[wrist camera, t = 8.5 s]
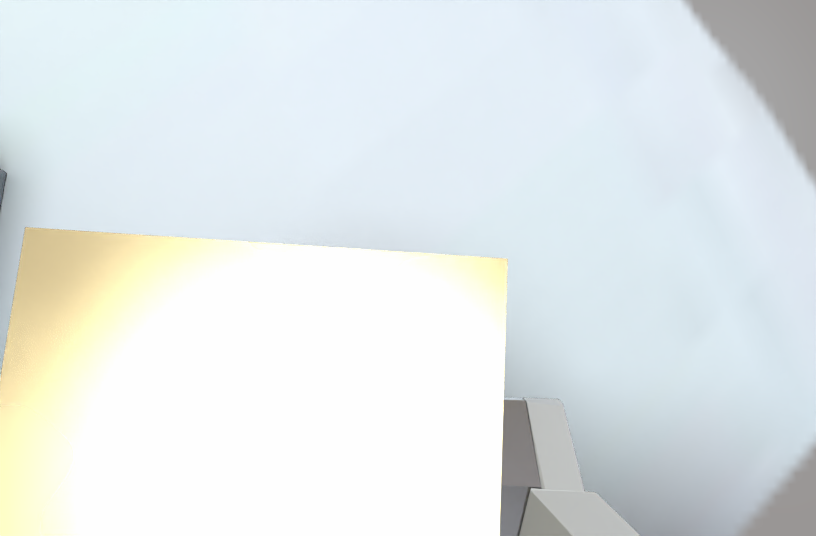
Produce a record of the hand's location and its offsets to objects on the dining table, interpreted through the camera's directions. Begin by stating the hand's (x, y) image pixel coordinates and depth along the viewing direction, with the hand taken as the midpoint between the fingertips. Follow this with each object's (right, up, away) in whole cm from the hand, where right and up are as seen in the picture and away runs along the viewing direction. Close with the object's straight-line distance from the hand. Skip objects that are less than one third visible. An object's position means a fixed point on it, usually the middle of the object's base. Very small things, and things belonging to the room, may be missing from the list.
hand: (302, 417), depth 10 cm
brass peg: (0, -2, +5) cm, 5 cm away
